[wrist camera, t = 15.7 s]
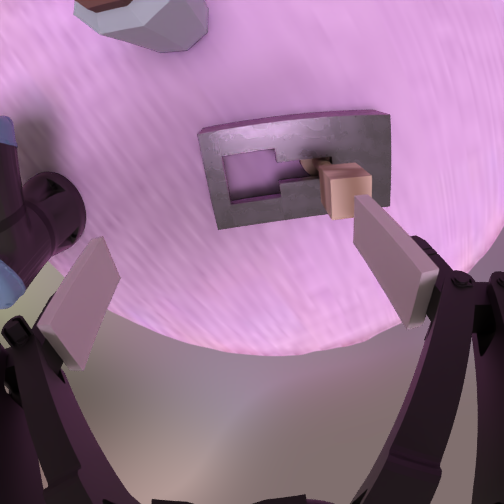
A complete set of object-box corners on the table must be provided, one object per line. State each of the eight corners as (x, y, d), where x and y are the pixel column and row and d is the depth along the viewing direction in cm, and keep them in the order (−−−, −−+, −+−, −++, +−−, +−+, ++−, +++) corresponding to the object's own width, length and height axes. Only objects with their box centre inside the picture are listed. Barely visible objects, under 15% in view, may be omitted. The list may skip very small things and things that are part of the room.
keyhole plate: (220, 212, 48) (218, 229, 43) (202, 128, 41) (197, 134, 36) (374, 192, 47) (389, 206, 42) (373, 109, 40) (390, 114, 35)
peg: (301, 174, 45) (329, 222, 31) (297, 143, 43) (327, 177, 28) (331, 170, 45) (373, 216, 31) (329, 140, 43) (374, 173, 28)
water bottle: (221, 38, 34) (198, -16, 13) (157, 66, 35) (67, 56, 14) (197, -15, 29) (153, -98, 8) (134, 14, 30) (38, -30, 9)
